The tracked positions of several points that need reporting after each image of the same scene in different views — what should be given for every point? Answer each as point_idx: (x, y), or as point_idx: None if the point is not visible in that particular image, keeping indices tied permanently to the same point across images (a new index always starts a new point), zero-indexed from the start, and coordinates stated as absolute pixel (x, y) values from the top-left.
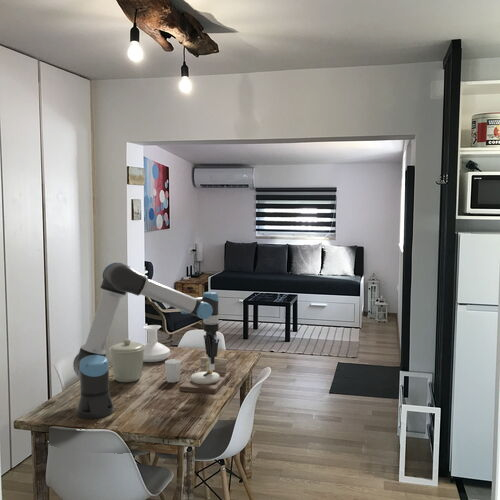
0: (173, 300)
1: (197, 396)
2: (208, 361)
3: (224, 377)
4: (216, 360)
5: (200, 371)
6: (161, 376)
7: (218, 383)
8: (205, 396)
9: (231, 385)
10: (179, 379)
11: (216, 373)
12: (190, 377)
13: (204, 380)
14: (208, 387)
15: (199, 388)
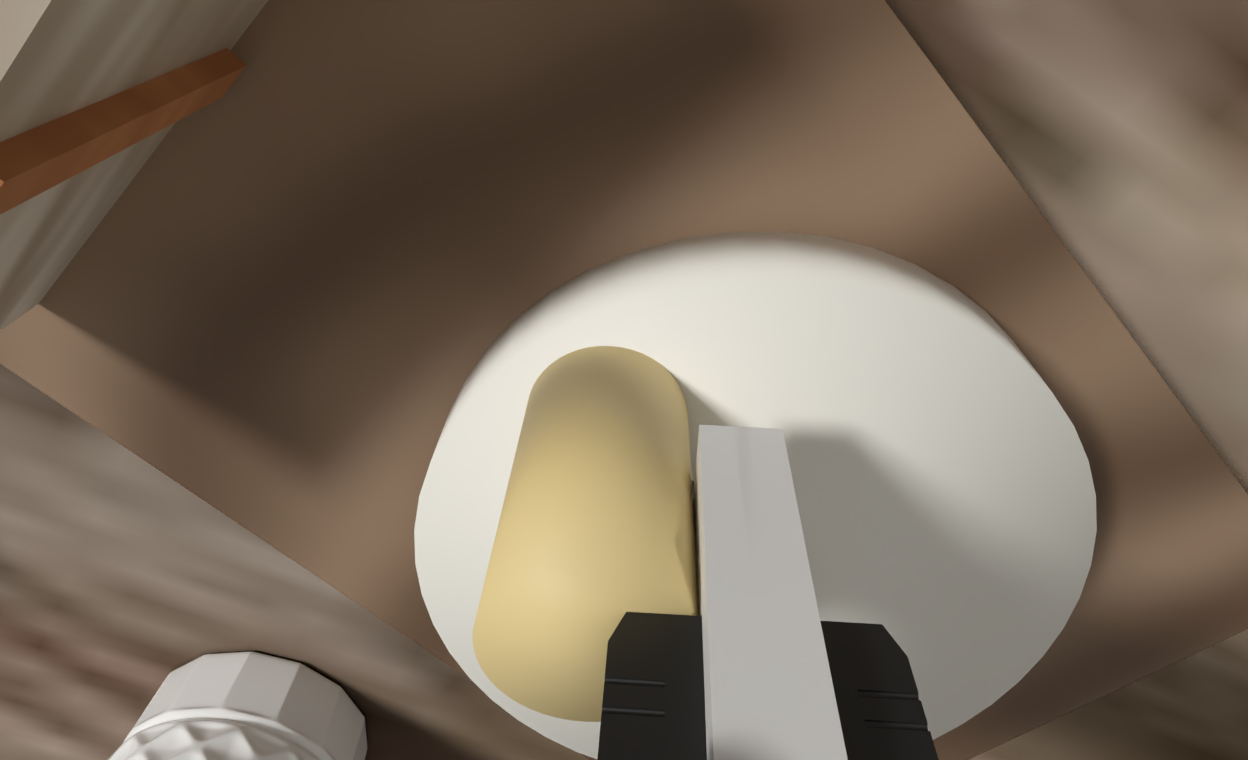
0: None
1: (1127, 748)
2: (476, 639)
3: (856, 49)
4: (56, 61)
5: (69, 322)
6: (6, 755)
7: (1119, 404)
8: (1229, 684)
9: (1218, 45)
10: (313, 689)
11: (764, 304)
12: (413, 626)
13: (996, 697)
14: (1136, 632)
15: (1028, 723)
